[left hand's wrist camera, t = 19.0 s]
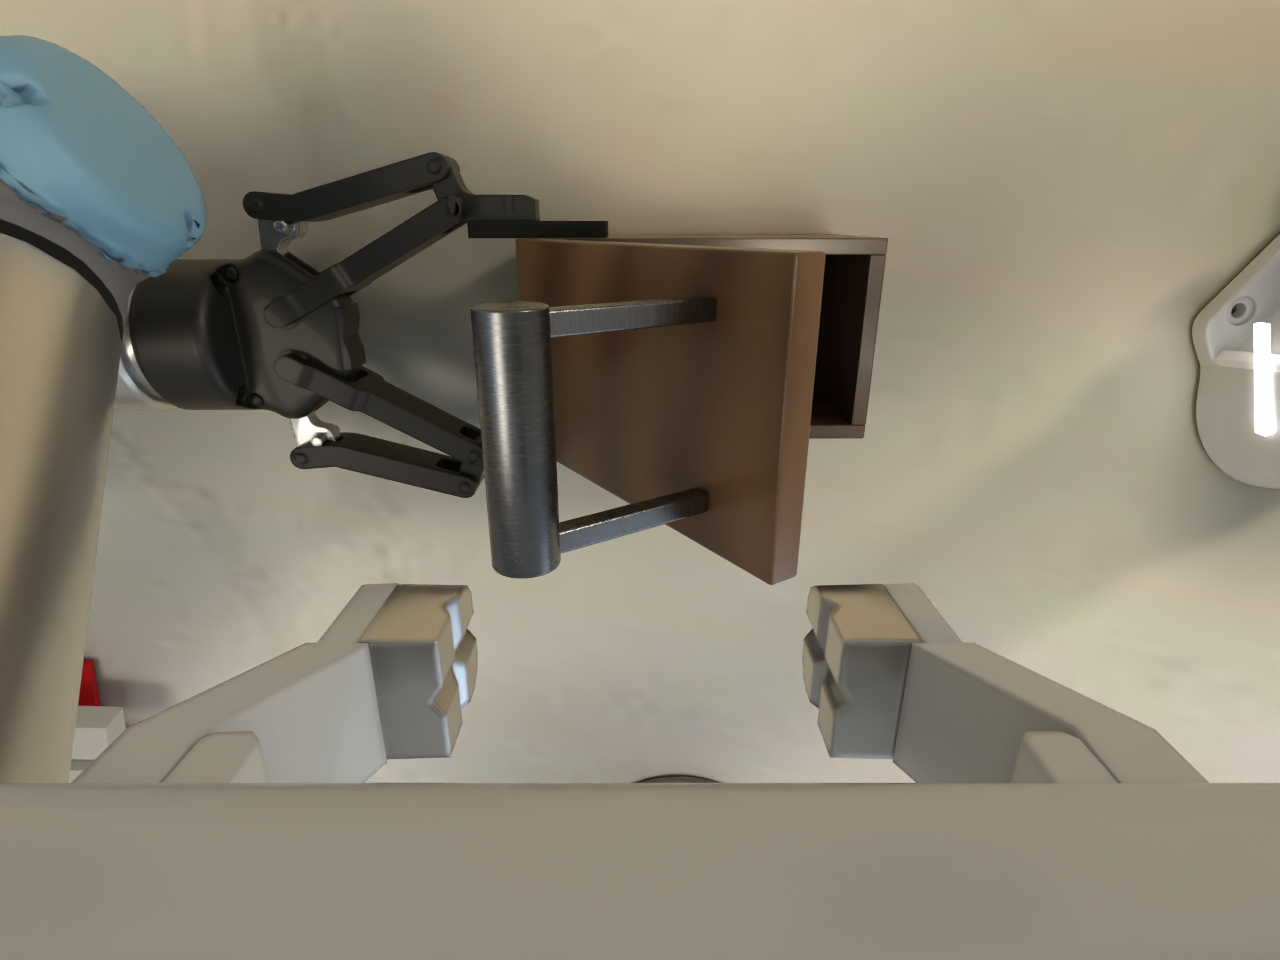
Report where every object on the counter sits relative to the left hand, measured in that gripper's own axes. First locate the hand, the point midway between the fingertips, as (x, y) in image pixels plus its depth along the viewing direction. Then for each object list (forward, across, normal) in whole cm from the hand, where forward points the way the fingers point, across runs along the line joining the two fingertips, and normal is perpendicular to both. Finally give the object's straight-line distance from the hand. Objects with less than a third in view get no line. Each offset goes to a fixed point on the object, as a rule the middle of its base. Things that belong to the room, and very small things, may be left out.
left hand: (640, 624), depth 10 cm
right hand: (+27, -2, 0) cm, 27 cm away
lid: (+17, 0, 0) cm, 17 cm away
